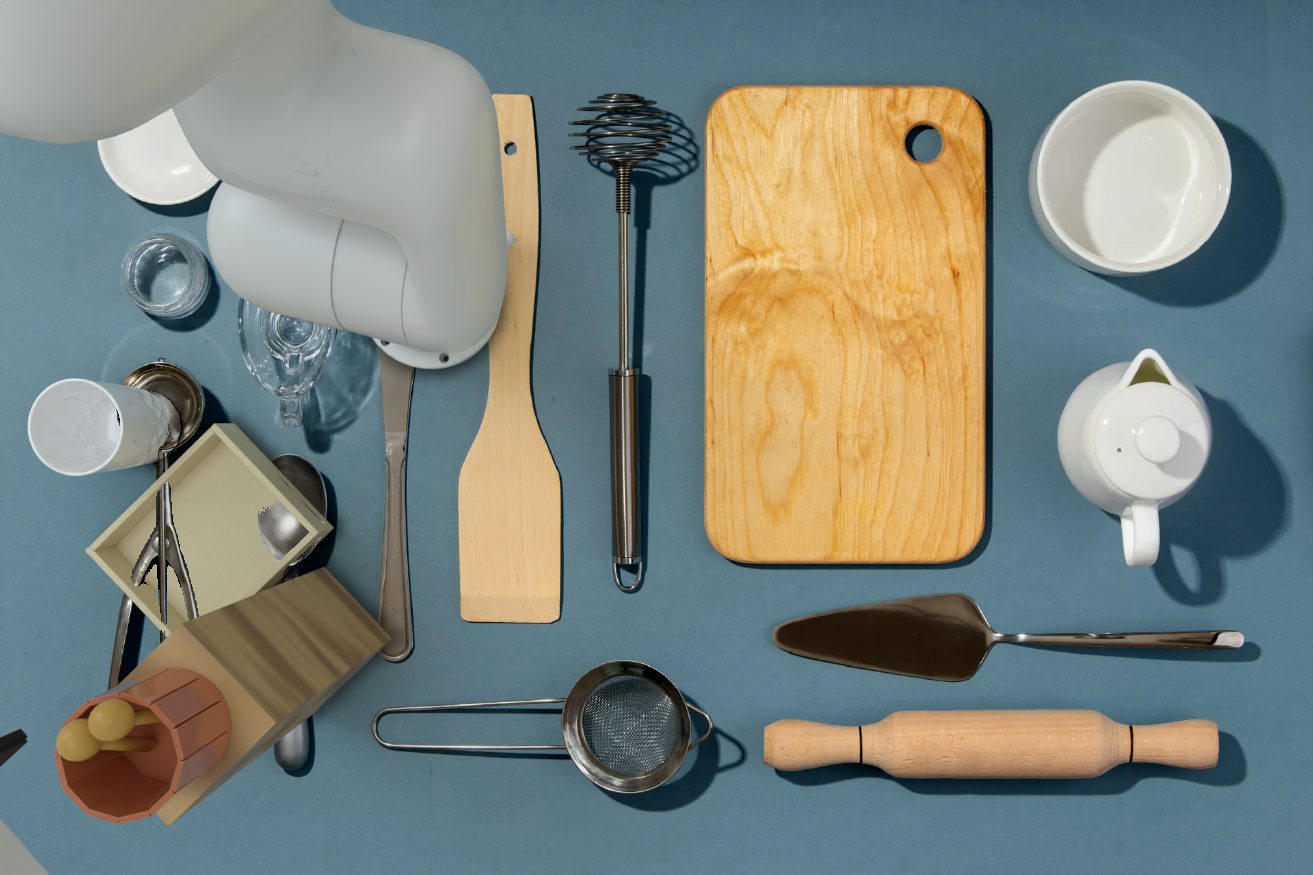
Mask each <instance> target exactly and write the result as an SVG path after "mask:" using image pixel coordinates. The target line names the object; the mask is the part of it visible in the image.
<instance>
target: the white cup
mask: <svg viewBox="0 0 1313 875" xmlns="http://www.w3.org/2000/svg"><path fill="white" fill-rule="evenodd" d="M147 390H148V389H144V388H139V387H136V386H132V385H126V384H120V383H115V382H109V381H108V382H107V381H100V380H92V379H85V378H78V377H77V378H75V377H74V378H66V379H61V380H58V381H56V382H54V383H52V384H50V385H48V386H47V387H46V388H45V389H43V391H42V392H41V393H39V395H38V396H37V397H36V398H35V400H34V401H33V404H32V406H31V408H30V411H29V414H28V419H27V434H28V435H27V436H28V439H29V440H28V441H29V443H30V446H31V448H32V450H33V452H34V454H35V455H36V457H37V458H38V459H39V461H41V462H42V464H44V465H45V466H46V467H48V468H49V469H50V470H53V471H54V472H56V473H58V474H61V475H65V476H69V477H70V476H71V477H82V476H89V475H96V474H101V473H102V474H103V473H107V472H108V473H109V472H115V471H119V470H124V469H131V468H135V467H139V466H142V465H151V464H152V463H156V462H158V461H159V460H158V451H159V448H160V447H161V446H163V445H164V443H165V441H166V439H167V437H168V435H169V431H168V423H169V418H168V416H169V415H168V413H167V410H166V408H165V407H164V405H163V403H162V402H161V400H160V399H159V398H158V397H156V396H155V395H153V394H151V393H150V392H148V391H147ZM116 409H117V411H118V414H119V418H120V426H119V423H118V421H117V411H116ZM167 433H168V435H167ZM170 454H171V453H169V455H170Z"/></svg>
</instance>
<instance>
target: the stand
mask: <svg viewBox="0 0 1313 875" xmlns="http://www.w3.org/2000/svg"><path fill="white" fill-rule="evenodd" d="M391 640H392V636H391V635H390V634H389V633H388V632H387V631H386V629H384V628H383V627H382V626H381V625H380V623H378V621H376V620H375V619H374V617H373V616H372V615H371V614H370V613H369V612H368V611H367V610H366V608H364V607H363V606H362V604H360V603H359V602H358V600H356V599H355V597H354V596H353V595H352V594H351V593H350V592H349V591H348V590H347V589H346V588H345V586H344V585H342V584H341V582H339V580H338V579H336V578H335V576H334V575H333V574H332V573H331V572H330V571H329V570H328V569H327V568H326V566H322V567H320V568H317V569H315V570H312V571H310V572H307V573H305V574H303V575H300V576H297V577H295V578H293V579H290V580H287V581H285V582H282V583H280V584H276V585H275V586H274V587H272V588H270V589H267V590H265V591H262V592H260V593H257V594H255V595H252V596H250V597H247V598H245V599H242V600H239V601H237V602H234V603H232V604H229V605H227V606H224V607H222V608H219V609H217V610H214V611H212V612H209V613H207V614H204V615H202V616H199V617H197V618H194V619H192V620H189V621H187V622H184V623H182V624H180V625H179V626H178V627H177V628H176V629H175V630H174V631H173V632H172V633H171V634H170V635H169V636H168V637H165V639H164V640H163V641H162V642H160V643H159V645H157V647H156V648H154V649H153V651H152V652H150V653H149V654H148V655H147V656H146V657H145V658H144V659H143V660H142V661H141V662H140V663H139V664H138V665H137V666H135V667H134V669H133V670H132V671H131V672H130V673H129V674H128V675H126V677H125V678H124V679H123V680H122V681H120V683H119V684H117V686H119V685H121V684H123V683H125V682H128V681H130V680H132V679H134V678H136V677H138V676H141V675H144V674H148V673H151V672H153V671H157V670H160V669H165V668H182V669H186V670H190V671H193V672H196V673H198V674H200V675H202V676H204V677H205V678H206V679H208V680H209V681H210V682H212V683H213V684H214V685H215V686H216V687H217V689H218V690H219V691H220V692H221V694H222V695H223V697H224V699H225V701H226V703H227V705H228V708H229V711H230V716H231V727H232V728H231V737H230V742H229V745H228V748H227V750H226V752H225V754H224V756H223V758H222V759H221V760H220V762H219V763H218V764H217V765H216V766H215V768H214V769H212V770H211V771H210V772H209V773H207V774H206V775H205V776H204V777H203V778H202V779H201V780H200V781H199V782H197V783H196V784H195V785H193V786H192V787H191V788H189V789H188V790H187V791H185V792H184V793H182V794H181V795H180V796H178V797H177V798H176V799H174V800H173V801H172V802H170V803H169V804H168V805H166V806H165V807H163V808H162V809H161V810H159V811H158V812H157V813H155V815H157V816H158V817H159V819H161V821H162V822H163V823H164V824H165V825H166V826H167V827H170V826H172V825H173V824H174V823H176V821H178V820H180V819H181V818H182V817H183V816H185V815H186V814H187V813H188V812H189V811H191V810H192V809H193V808H194V807H196V806H197V805H198V804H200V803H201V802H202V801H204V800H205V799H206V798H207V797H209V796H210V795H211V794H213V793H214V792H215V791H216V790H218V789H219V788H221V787H222V786H223V785H224V784H226V783H227V782H228V781H229V780H231V779H232V778H233V777H234V776H236V775H237V774H238V773H240V772H241V771H242V770H243V769H245V768H246V767H247V766H248V765H250V764H251V763H252V762H254V761H255V760H256V759H258V757H260V756H261V755H263V754H264V753H265V752H267V750H269V749H271V747H273V746H274V745H275V744H277V743H278V742H279V741H280V740H282V739H283V738H284V737H286V736H287V735H288V734H290V733H291V732H292V731H293V730H295V729H296V728H297V727H299V725H301V724H302V723H303V722H305V721H306V720H307V719H308V718H310V717H311V716H312V715H314V714H315V713H316V712H317V711H318V710H320V709H321V707H322V706H324V704H325V703H327V701H328V700H330V698H332V697H333V696H334V695H335V694H336V693H337V692H338V691H339V690H340V689H341V688H342V687H343V686H344V685H345V684H346V683H347V682H348V681H349V680H350V679H351V678H352V677H354V676H355V674H357V673H358V672H359V671H360V670H361V669H362V668H363V667H364V666H365V665H366V664H367V663H368V662H369V661H370V660H371V659H372V658H373V657H374V656H375V655H377V654H378V652H380V651H381V650H382V649H383V647H385V646H386V645H387V644H388V643H389V642H390V641H391Z"/></svg>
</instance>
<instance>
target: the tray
mask: <svg viewBox="0 0 1313 875" xmlns="http://www.w3.org/2000/svg"><path fill="white" fill-rule="evenodd" d="M278 475H279V476H280V477H281V478H282V479H283V480H284V481H285V482H286V483H287V484H288V486H289V487H290V488H291V489H292V490H293V491H294V492H295V493H296V494H297V495H298V496H299V497H300V498H301V499H302V500H303V501H304V502H305V503H306V504H307V506H308V507H309V508H310V509H311V510H312V511H313V512H314V513H315V514H316V515H317V516H318V517H319V518H320V519H321V520H322V521H323V522H324V523H325V524H324V523H322V522H321V521H320V520H319V519H318V518H317V517H315V515H314V514H313V513H312V512H311V511H310V510H309V509H308V508H307V507H306V506H305V505H304V504H303V503H302V502H301V501H300V500H299V498H297V496H296V495H295V494H294V493H293V492H292V491H291V490H290V489H289V488H288V486H286V484H285V483H284V482H283V480H282V479H281V478H280V477H279V476H278ZM166 482H169V484H170V487H171V502H172V514H173V522H174V527H175V529H176V533H177V535H178V540H179V544H180V550H181V552H182V554H183V556H184V560H185V563H186V564H187V568H188V571H189V577H190V580H191V584H192V587H193V591H194V593H195V600H196V602H197V608H198V614H199V616H202V615H204V614H207V613H209V612H212V611H214V610H217V609H219V608H222V607H224V606H227V605H229V604H232V603H234V602H237V601H239V600H242V599H245V598H247V597H250V596H252V595H255V594H257V593H260V592H262V591H265V590H267V589H270V588H272V587H275V586H277V585H278V583H279V582H280V581H281V580H282V579H283V578H284V577H283V575H282V574H283V572H284V571H285V570H286V568H287V567H288V566H289V565H290V564H291V563H292V562H294V561H295V560H296V559H297V558H298V557H299V556H300V555H301V554H303V553H304V552H305V551H306V550H307V549H308V548H309V547H310V546H311V545H313V543H315V542H316V541H317V540H318V539H319V538H320V537H321V538H320V539H319V540H318V541H317V542H316V546H317V545H318V544H320V542H321V541H322V540H323V539H324V538H326V536H328V535H329V534H330V532H332V530H334V526H333V525H332V524H331V523H330V522H329V521H328V520H327V519H326V517H324V516H323V515H322V513H321V512H320V511H319V510H318V509H317V508H316V507H315V506H314V505H313V504H312V503H311V502H310V501H309V500H308V499H307V498H306V497H305V496H304V495H303V494H302V493H301V491H300V490H299V489H298V488H297V487H296V486H295V485H294V484H293V483H292V482H291V481H290V480H289V479H288V478H287V477H286V475H285V474H283V473H282V472H281V470H279V469H278V467H277V466H276V465H275V464H274V463H273V462H272V460H270V459H269V458H268V457H267V455H265V454H264V452H262V451H261V449H260V448H258V447H257V445H256V444H255V443H254V442H253V441H252V439H250V438H249V437H248V436H247V435H246V433H244V431H242V430H241V428H240V427H239V426H238V425H237V423H234V422H232V423H229V422H228V423H226V422H225V423H219V422H218V423H217V422H216V423H213V424H212V425H211V427H209V428H208V429H207V430H206V431H205V432H204V433H203V434H202V435H201V436H200V437H199V438H198V439H197V440H196V441H195V442H194V443H193V444H192V445H191V446H190V447H189V448H188V449H187V450H186V451H185V452H184V453H183V454H182V455H181V456H180V457H179V458H178V459H177V460H175V462H174V463H172V464H171V465H170V466H169V468H168V469H167V470H165V471H164V472H163V473H162V474H161V475H160V476H159V477H158V478H157V480H155V481H154V482H153V483H152V484H151V485H150V486H149V487H147V489H146V490H145V491H144V492H143V493H142V494H141V495H140V496H139V497H137V499H136V500H135V501H134V502H133V503H132V504H131V505H130V506H128V508H127V509H125V511H123V513H122V514H121V515H120V516H118V518H116V519H115V520H114V521H113V522H112V524H110V526H108V527H107V528H106V529H105V530H104V531H103V532H102V533H101V534H100V535H99V536H98V537H97V538H96V539H95V540H94V541H93V542H92V543H91V544H90V545H89V546H88V547H87V548H86V549H85V550H84V551H85V552H86V554H87V555H88V556H89V557H90V558H91V559H92V560H93V561H94V562H95V563H96V564H97V566H99V567H100V568H101V570H103V572H104V573H105V574H106V575H107V576H108V577H109V578H110V579H111V580H112V582H114V583H115V584H116V585H117V586H118V588H119V589H121V591H123V593H124V594H125V595H126V596H127V597H128V598H129V599H130V600H131V602H133V604H135V605H136V607H138V608H139V610H140V611H141V612H142V613H143V614H144V615H145V616H146V617H147V618H148V619H149V620H150V621H151V622H152V623H153V624H154V626H156V627H157V629H158V630H159V631H160V632H161V630H162V632H163V633H164V631H165V635H164V636H165V638H167V637H168V636H169V635H170V634H171V633H172V632H173V631H174V630H175V629H176V628H177V627H178V626H179V625H180V624H182V623H184V622H187V621H189V619H188V617H187V610H186V607H185V602H184V595H183V591H182V588H181V587H180V584H179V582H178V578H177V576H176V574H175V572H174V569H173V568H172V567H171V566H169V565H168V567H167V624H165V625H164V623H163V622H162V621H161V613H160V606H159V600H158V579H157V565H156V564H155V565H153V567H152V569H150V572H148V574H147V576H146V577H145V580H144V581H145V582H146V583H147V584H148V585H147V584H144V583H143V584H141V585H140V586H139V587H136V586H135V585H134V584H133V582H132V579H131V576H132V569H134V567H135V564H136V562H137V559H139V555H140V554H141V551H142V550H143V548H144V546H145V544H146V543H147V541H148V539H150V535H151V534H152V532H153V531H154V528H155V527H156V496H157V492H158V491H159V490H160V489H161V487H162V486H163V485H164V484H165V483H166ZM275 501H276V505H277V502H279V504H280V502H281V503H282V504H283V505H284V506H285V507H286V508H287V509H288V510H289V511H290V512H291V514H292V515H293V516H294V517H295V518H296V519H297V520H298V521H299V522H300V523H301V524H302V525H303V526H304V527H305V528H306V529H307V530H308V531H309V533H308V534H307V535H306V536H305V537H304V538H303V539H302V540H301V541H300V542H299V543H298V544H297V545H296V546H295V547H294V548H292V549H291V550H290V551H289V552H288V553H287V554H286V555H285V556H284V557H283V558H282V559H281V560H280V561H279V562H278V561H277V560H276V559H275V558H274V557H273V555H272V554H271V553H270V552H269V550H267V548H266V546H264V543H263V541H262V538H261V537H260V533H259V531H258V518H257V516H258V511H259V514H261V511H262V512H263V511H264V512H265V508H266V509H267V507H269V509H271V507H273V504H274V505H275ZM270 505H271V507H270ZM263 507H264V509H263ZM274 509H275V506H274ZM267 510H268V509H267ZM262 515H263V514H262ZM316 546H312V548H311V550H310V552H311V551H312V550H313V549H314V548H315V547H316ZM162 632H161V633H162ZM163 633H162V634H163Z"/></svg>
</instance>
